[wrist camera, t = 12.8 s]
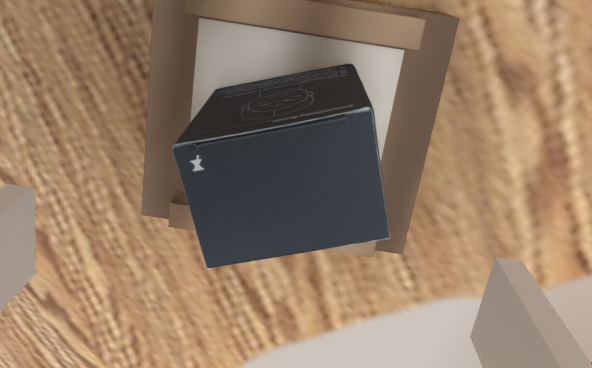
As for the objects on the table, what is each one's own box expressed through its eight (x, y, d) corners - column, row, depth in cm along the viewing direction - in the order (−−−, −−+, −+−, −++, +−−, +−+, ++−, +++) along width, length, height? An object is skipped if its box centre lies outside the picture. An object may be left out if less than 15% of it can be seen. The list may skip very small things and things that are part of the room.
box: (237, 182, 33) (203, 272, 23) (214, 87, 31) (166, 141, 21) (371, 159, 32) (394, 243, 22) (355, 60, 30) (374, 104, 21)
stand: (154, 196, 37) (133, 225, 33) (169, -31, 32) (146, -30, 28) (395, 232, 37) (405, 266, 33) (447, 14, 32) (466, 21, 28)
